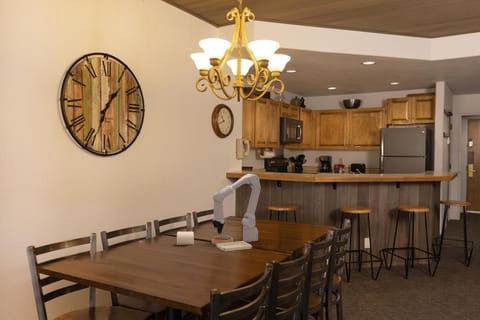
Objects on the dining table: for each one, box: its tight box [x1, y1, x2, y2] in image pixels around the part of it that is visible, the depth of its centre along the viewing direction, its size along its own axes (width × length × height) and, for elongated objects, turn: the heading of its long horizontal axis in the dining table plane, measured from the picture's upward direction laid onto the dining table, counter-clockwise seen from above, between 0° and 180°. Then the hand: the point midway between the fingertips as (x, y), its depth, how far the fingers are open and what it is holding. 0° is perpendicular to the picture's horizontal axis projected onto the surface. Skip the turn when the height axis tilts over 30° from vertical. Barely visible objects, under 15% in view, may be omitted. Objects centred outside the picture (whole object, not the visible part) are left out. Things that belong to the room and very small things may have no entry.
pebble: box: [214, 227, 223, 236], centre depth 244 cm, size 4×4×4 cm
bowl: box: [211, 235, 234, 246], centre depth 245 cm, size 13×13×4 cm
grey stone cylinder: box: [221, 234, 230, 240], centre depth 246 cm, size 4×4×4 cm
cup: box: [176, 231, 195, 246], centre depth 244 cm, size 8×12×10 cm
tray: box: [215, 240, 253, 252], centre depth 233 cm, size 18×13×2 cm
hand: (218, 232), depth 244 cm, fingers closed on pebble, 4 cm apart
